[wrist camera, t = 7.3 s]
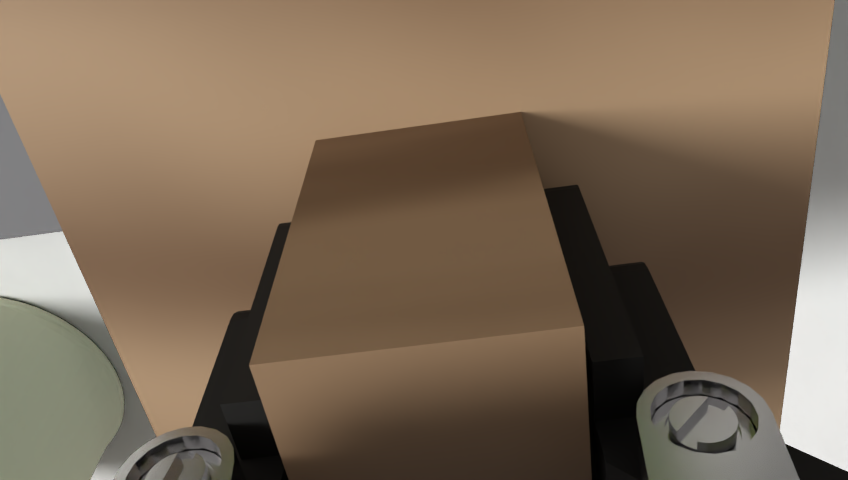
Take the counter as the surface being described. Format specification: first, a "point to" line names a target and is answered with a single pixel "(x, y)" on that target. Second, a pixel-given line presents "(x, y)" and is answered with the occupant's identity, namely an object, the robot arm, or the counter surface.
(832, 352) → the counter surface
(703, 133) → the lid
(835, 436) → the counter surface
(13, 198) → the mat
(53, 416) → the can
